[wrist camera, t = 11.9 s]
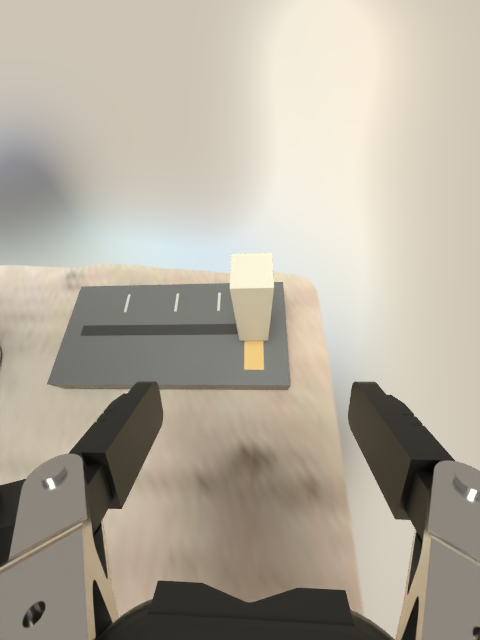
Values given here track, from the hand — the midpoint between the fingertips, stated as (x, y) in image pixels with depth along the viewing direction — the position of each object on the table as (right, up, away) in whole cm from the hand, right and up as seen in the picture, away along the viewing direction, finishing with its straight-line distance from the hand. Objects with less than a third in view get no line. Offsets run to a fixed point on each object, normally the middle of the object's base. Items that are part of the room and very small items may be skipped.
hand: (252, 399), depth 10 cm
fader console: (-8, +1, +19) cm, 21 cm away
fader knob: (+1, +2, +16) cm, 16 cm away
